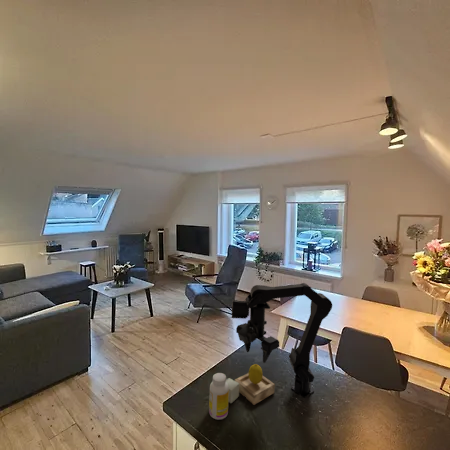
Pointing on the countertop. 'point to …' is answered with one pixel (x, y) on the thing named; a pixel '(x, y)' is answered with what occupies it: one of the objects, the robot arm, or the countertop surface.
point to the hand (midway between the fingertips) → (255, 357)
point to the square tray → (255, 388)
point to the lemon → (255, 374)
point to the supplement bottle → (218, 397)
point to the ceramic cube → (232, 389)
